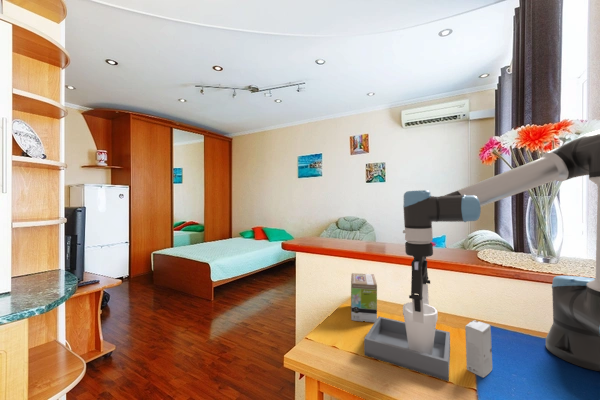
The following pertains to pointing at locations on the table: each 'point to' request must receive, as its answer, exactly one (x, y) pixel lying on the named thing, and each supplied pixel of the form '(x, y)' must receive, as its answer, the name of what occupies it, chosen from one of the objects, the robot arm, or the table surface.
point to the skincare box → (478, 348)
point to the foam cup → (420, 328)
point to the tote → (407, 348)
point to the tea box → (363, 297)
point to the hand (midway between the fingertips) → (421, 312)
